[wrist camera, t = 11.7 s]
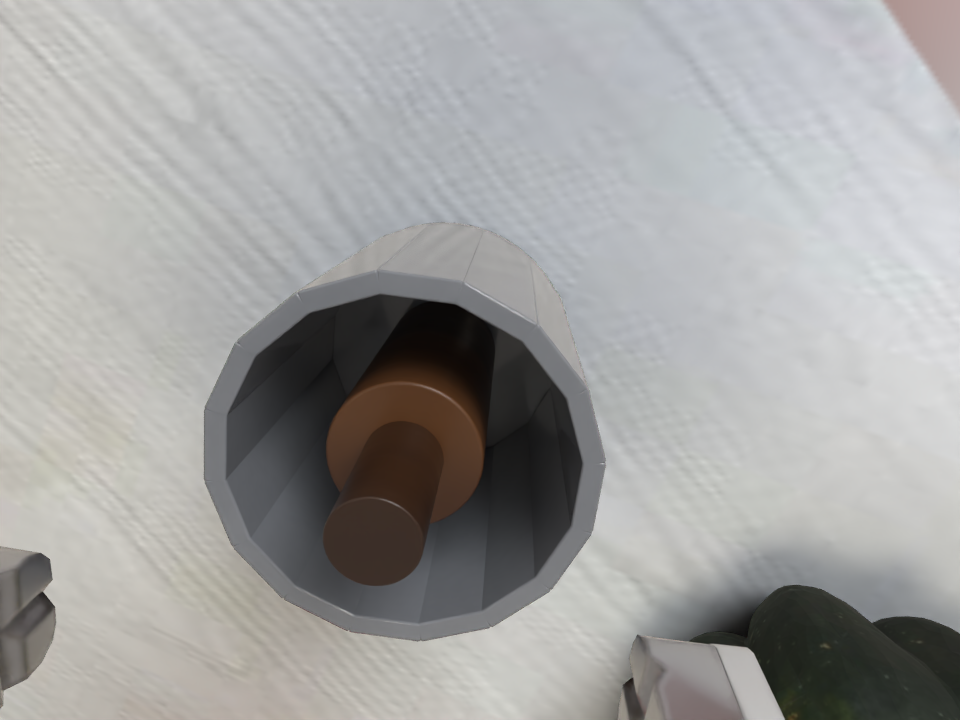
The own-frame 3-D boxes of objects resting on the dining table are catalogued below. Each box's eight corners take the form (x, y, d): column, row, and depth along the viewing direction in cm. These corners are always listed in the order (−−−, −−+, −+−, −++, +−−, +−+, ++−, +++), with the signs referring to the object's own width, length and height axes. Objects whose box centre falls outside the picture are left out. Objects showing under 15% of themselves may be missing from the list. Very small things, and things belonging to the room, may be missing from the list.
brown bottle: (395, 292, 23) (274, 436, 11) (501, 307, 23) (487, 464, 11) (386, 392, 24) (268, 614, 13) (487, 406, 24) (462, 642, 12)
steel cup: (333, 206, 23) (203, 246, 13) (587, 240, 23) (638, 304, 13) (319, 439, 26) (202, 612, 16) (547, 470, 25) (567, 663, 16)
